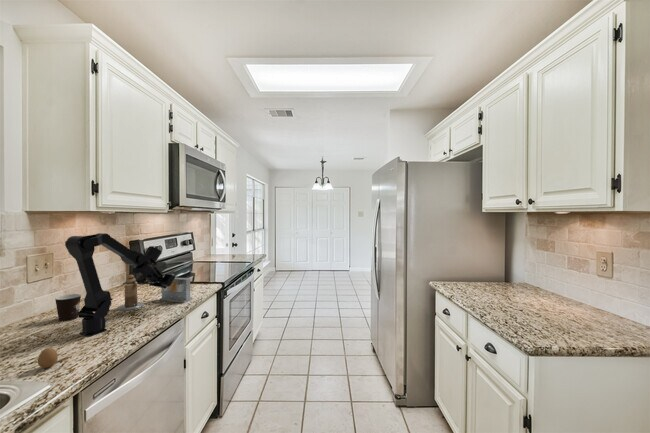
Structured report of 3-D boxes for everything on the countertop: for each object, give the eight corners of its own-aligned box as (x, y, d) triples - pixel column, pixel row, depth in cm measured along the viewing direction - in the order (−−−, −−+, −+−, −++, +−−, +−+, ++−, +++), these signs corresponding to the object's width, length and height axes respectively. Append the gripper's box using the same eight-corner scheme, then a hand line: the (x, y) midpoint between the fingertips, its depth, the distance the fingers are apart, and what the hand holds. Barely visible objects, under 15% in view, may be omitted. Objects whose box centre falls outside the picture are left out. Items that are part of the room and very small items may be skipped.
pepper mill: (133, 307, 141) (132, 275, 141) (122, 307, 141) (121, 275, 141) (139, 304, 146) (139, 273, 146) (129, 304, 146) (128, 273, 146)
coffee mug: (65, 323, 123) (65, 300, 122) (50, 321, 124) (49, 298, 124) (92, 313, 134) (92, 292, 134) (78, 312, 136) (77, 291, 136)
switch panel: (184, 302, 150) (184, 280, 150) (159, 300, 154) (159, 278, 154) (192, 299, 156) (192, 277, 156) (168, 297, 160) (168, 276, 160)
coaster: (127, 311, 137) (127, 310, 137) (112, 308, 141) (112, 307, 141) (149, 305, 147) (149, 303, 147) (134, 302, 151) (134, 301, 151)
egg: (42, 372, 85) (42, 352, 85) (34, 369, 87) (34, 349, 86) (61, 365, 89) (60, 346, 89) (53, 362, 91) (52, 343, 91)
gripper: (172, 258, 141) (188, 275, 152) (142, 256, 145) (159, 273, 156) (159, 277, 133) (177, 294, 144) (128, 275, 138) (147, 291, 149)
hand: (165, 287), depth 148 cm, fingers closed
